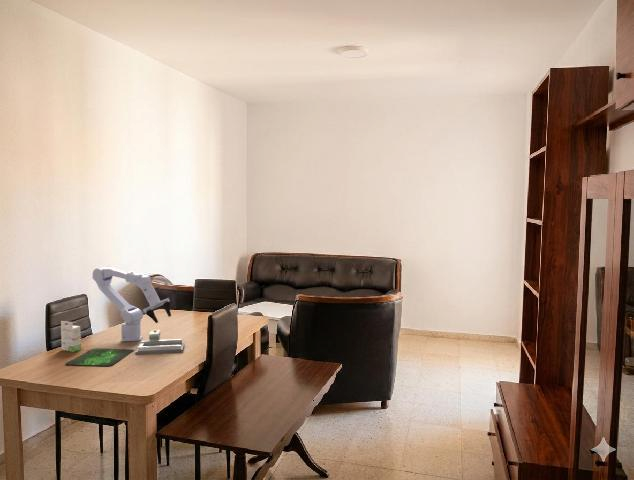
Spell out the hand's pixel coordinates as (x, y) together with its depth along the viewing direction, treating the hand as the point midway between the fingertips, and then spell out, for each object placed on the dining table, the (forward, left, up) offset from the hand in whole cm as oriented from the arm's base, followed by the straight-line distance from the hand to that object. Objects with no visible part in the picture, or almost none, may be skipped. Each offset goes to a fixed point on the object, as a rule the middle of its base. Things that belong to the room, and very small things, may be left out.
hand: (163, 319), depth 268 cm
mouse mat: (-26, -22, -13) cm, 36 cm away
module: (-4, -2, -12) cm, 13 cm away
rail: (0, -14, -11) cm, 17 cm away
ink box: (-43, -7, -12) cm, 46 cm away
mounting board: (0, -14, -12) cm, 18 cm away
